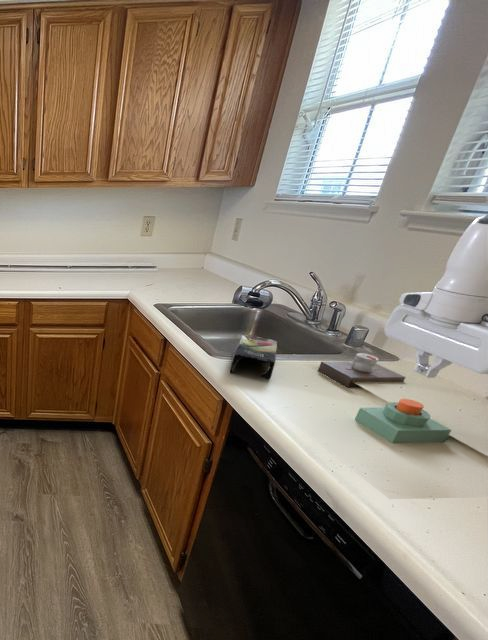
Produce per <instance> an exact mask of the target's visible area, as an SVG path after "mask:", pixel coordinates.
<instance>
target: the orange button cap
mask: <svg viewBox="0 0 488 640" xmlns="http://www.w3.org/2000/svg"><path fill="white" fill-rule="evenodd" d="M398 402H399V403H398V405H397V407H396V409H397V410H399V411H401V412H404V413H407V414H411V415H420V413H421V411H422V410H424V407H425V406H424V404H423V403H421V402H419V401H417V400H414V399H410V398H409V399H408V398H400V399H399V401H398Z"/></svg>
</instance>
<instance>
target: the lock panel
mask: <svg viewBox="0 0 488 640" xmlns="http://www.w3.org/2000/svg"><path fill="white" fill-rule="evenodd" d="M353 361H354V360H342V361H341V360H340V361H339V360H333V361H332V360H331V361H330V360H328V361H327V360H326V361H325V360H323V361H322V360H321V362H320V364H319V367H318V369H317V372H318V373H320V374H321V373H322V375H323V374H324V375H323V376H325V375H326V376H325V377H327V376H328V377H329V378H328V377H327V378H328V379H330V378H331V379H330V380H332V379H333V380H332V381H334V380H335V381H336V382H335V381H334V382H335V383H337V382H338V383H337V384H339V383H340V384H339V385H340V386H342V385H343V386H342V387H344V386H345V388H346V387H347V388H346V389H364V387H362V386H361V385H360V384H357V383H393V382H394V383H403V382H405V379H406V376H404V375H403V374H400V373H398V372H395V371H393V370H391V369H389V368H387V367H385V366H383V365H380V364H378V363H377V364H376V366H375V368H374V370H373V372H362V371H358V370H356V369H353V368H352V367H351V366H352V364H353Z"/></svg>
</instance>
